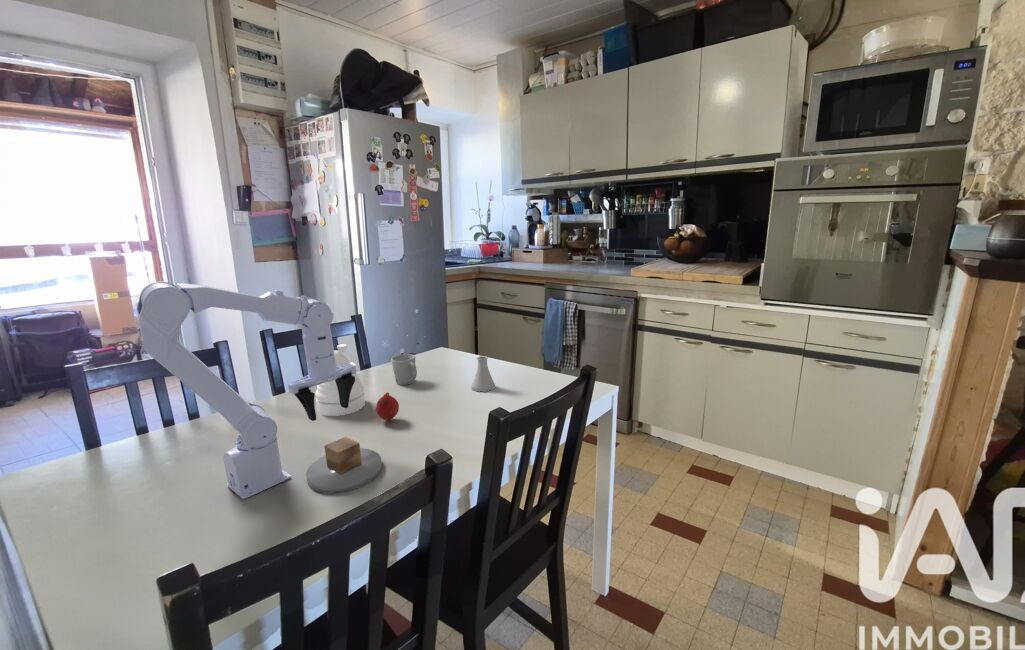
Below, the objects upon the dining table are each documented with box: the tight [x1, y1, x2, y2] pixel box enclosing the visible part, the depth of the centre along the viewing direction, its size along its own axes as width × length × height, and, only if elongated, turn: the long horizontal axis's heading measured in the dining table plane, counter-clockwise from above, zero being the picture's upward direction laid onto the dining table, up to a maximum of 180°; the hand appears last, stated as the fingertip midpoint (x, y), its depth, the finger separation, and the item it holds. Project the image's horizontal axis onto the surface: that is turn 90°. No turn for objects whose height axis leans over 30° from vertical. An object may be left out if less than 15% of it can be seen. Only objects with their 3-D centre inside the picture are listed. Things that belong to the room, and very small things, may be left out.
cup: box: [390, 353, 418, 386], centre depth 147 cm, size 8×10×8 cm
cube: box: [324, 436, 362, 475], centre depth 97 cm, size 5×5×5 cm
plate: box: [305, 447, 383, 494], centre depth 98 cm, size 15×15×2 cm
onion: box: [375, 391, 400, 422], centre depth 121 cm, size 6×6×8 cm
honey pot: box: [314, 343, 366, 417], centre depth 129 cm, size 13×13×18 cm
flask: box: [470, 355, 496, 393], centre depth 142 cm, size 7×7×10 cm
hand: (329, 412), depth 102 cm, fingers open, 7 cm apart
